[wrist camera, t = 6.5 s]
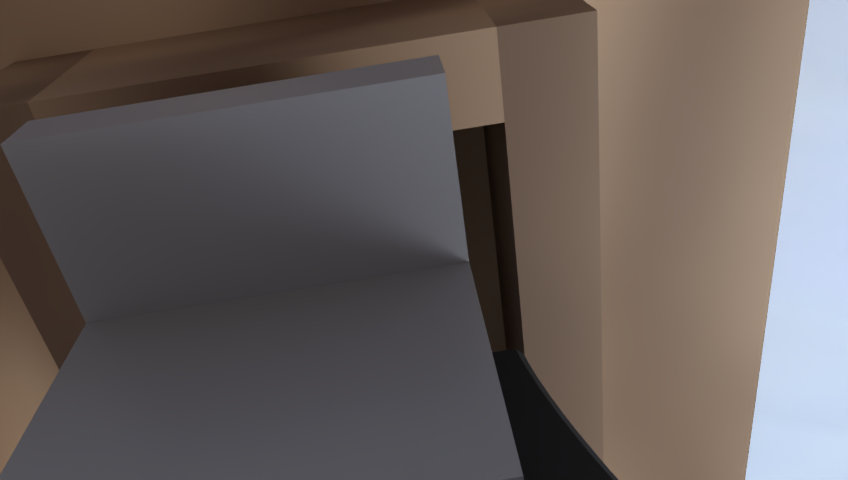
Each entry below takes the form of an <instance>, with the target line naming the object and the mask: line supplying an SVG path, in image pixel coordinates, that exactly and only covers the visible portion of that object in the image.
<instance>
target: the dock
mask: <svg viewBox="0 0 848 480" xmlns="http://www.w3.org/2000/svg"><path fill="white" fill-rule="evenodd" d="M808 7H809V0H0V144H1V143H3V142H4V141H5V140H6V139H7V138H9V137H10V136H11V135H12V134H13V133H14V132H16V131H17V130H18V129H19V128H20V127H21V126H23V125H24V124H25V123H26V122H27V121H30V120H37V119H43V118H49V117H55V116H61V115H68V114H74V113H80V112H86V111H92V110H99V109H105V108H111V107H117V106H124V105H130V104H136V103H142V102H148V101H155V100H161V99H167V98H173V97H179V96H186V95H192V94H198V93H204V92H210V91H217V90H223V89H229V88H235V87H242V86H248V85H254V84H260V83H266V82H273V81H279V80H285V79H291V78H297V77H304V76H310V75H316V74H322V73H328V72H335V71H341V70H347V69H353V68H359V67H366V66H372V65H378V64H384V63H391V62H397V61H403V60H409V59H415V58H422V57H428V56H434V55H439V57H440V60H441V62H442V65H443V68H444V71H445V75H446V83H447V91H448V99H449V107H450V115H451V123H452V131H453V138H454V146H455V154H456V162H457V170H458V178H459V186H460V194H461V202H462V210H463V218H464V225H465V233H466V241H467V249H468V257H469V263H470V267H471V271H472V275H473V279H474V283H475V287H476V291H477V295H478V299H479V303H480V307H481V311H482V315H483V319H484V323H485V327H486V331H487V335H488V338H489V342H490V346H491V350H492V352H497V351H504V350H510V349H517V350H518V351H520V352H521V353H523V354H524V355H525V357H526V359H527V361H528V363H529V364H530V366H531V368H532V369H533V371H534V372H535V374H536V376H537V377H538V379H539V380H540V382H541V383H542V385H543V386H544V387H545V389H546V390H547V392H548V393H549V395H550V396H551V397H552V399H553V400H554V401H555V403H556V404H557V406H558V407H559V408H560V410H561V411H562V412H563V414H564V415H565V416H566V418H567V419H568V420H569V421H570V423H571V424H572V425H573V426H574V428H575V429H576V430H577V432H578V433H579V434H580V435H581V436H582V438H583V439H584V440H585V441H586V442H587V444H588V445H589V446H590V447H591V448H592V450H593V451H594V452H595V453H596V454H597V455H598V457H599V458H600V459H601V460H602V461H603V463H604V464H605V465H606V466H607V467H608V469H609V470H610V471H611V472H612V473H613V474H614V475H615V476H616V477H617V479H618V480H745V475H746V468H747V460H748V453H749V445H750V438H751V430H752V423H753V416H754V408H755V401H756V393H757V386H758V378H759V371H760V364H761V356H762V349H763V341H764V334H765V326H766V319H767V311H768V304H769V297H770V289H771V282H772V274H773V267H774V259H775V252H776V245H777V237H778V230H779V222H780V215H781V207H782V200H783V193H784V185H785V178H786V170H787V163H788V155H789V148H790V141H791V133H792V126H793V118H794V111H795V103H796V96H797V89H798V81H799V74H800V66H801V59H802V51H803V44H804V37H805V29H806V22H807V14H808ZM85 324H86V322H85V320H84V318H83V316H82V314H81V312H80V310H79V308H78V306H77V303H76V301H75V299H74V297H73V295H72V293H71V291H70V289H69V287H68V285H67V283H66V281H65V278H64V276H63V274H62V272H61V270H60V268H59V266H58V264H57V262H56V260H55V258H54V255H53V253H52V251H51V249H50V247H49V245H48V243H47V241H46V239H45V237H44V235H43V233H42V230H41V228H40V226H39V224H38V222H37V220H36V218H35V216H34V214H33V212H32V210H31V208H30V205H29V203H28V201H27V199H26V197H25V195H24V193H23V191H22V189H21V187H20V185H19V182H18V180H17V178H16V176H15V174H14V172H13V170H12V168H11V166H10V164H9V162H8V160H7V157H6V155H5V153H4V151H3V149H2V147H1V145H0V474H1V472H2V471H3V469H4V467H5V465H6V464H7V462H8V460H9V458H10V457H11V455H12V453H13V451H14V449H15V448H16V446H17V444H18V442H19V441H20V439H21V437H22V435H23V434H24V432H25V430H26V428H27V427H28V425H29V423H30V421H31V419H32V418H33V416H34V414H35V412H36V411H37V409H38V407H39V405H40V404H41V402H42V400H43V398H44V397H45V395H46V393H47V391H48V389H49V388H50V386H51V384H52V382H53V381H54V379H55V377H56V375H57V374H58V372H59V370H60V368H61V367H62V365H63V363H64V361H65V359H66V358H67V356H68V354H69V352H70V351H71V349H72V347H73V345H74V344H75V342H76V340H77V338H78V337H79V335H80V333H81V331H82V330H83V328H84V326H85Z"/></svg>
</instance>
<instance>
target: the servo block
mask: <svg viewBox="0 0 848 480" xmlns="http://www.w3.org/2000/svg"><path fill="white" fill-rule="evenodd" d="M0 145H1V147H2V149H3V151H4V153H5V155H6V157H7V160H8V162H9V164H10V166H11V168H12V170H13V172H14V174H15V176H16V178H17V180H18V182H19V185H20V187H21V189H22V191H23V193H24V195H25V197H26V199H27V201H28V203H29V205H30V208H31V210H32V212H33V214H34V216H35V218H36V220H37V222H38V224H39V226H40V228H41V230H42V233H43V235H44V237H45V239H46V241H47V243H48V245H49V247H50V249H51V251H52V253H53V255H54V258H55V260H56V262H57V264H58V266H59V268H60V270H61V272H62V274H63V276H64V278H65V281H66V283H67V285H68V287H69V289H70V291H71V293H72V295H73V297H74V299H75V301H76V303H77V306H78V308H79V310H80V312H81V314H82V316H83V318H84V320H85V322H86V324H85V326H84V328H83V330H82V331H81V333H80V335H79V337H78V338H77V340H76V342H75V344H74V345H73V347H72V349H71V351H70V352H69V354H68V356H67V358H66V359H65V361H64V363H63V365H62V367H61V368H60V370H59V372H58V374H57V375H56V377H55V379H54V381H53V382H52V384H51V386H50V388H49V389H48V391H47V393H46V395H45V397H44V398H43V400H42V402H41V404H40V405H39V407H38V409H37V411H36V412H35V414H34V416H33V418H32V419H31V421H30V423H29V425H28V427H27V428H26V430H25V432H24V434H23V435H22V437H21V439H20V441H19V442H18V444H17V446H16V448H15V449H14V451H13V453H12V455H11V457H10V458H9V460H8V462H7V464H6V465H5V467H4V469H3V471H2V472H1V474H0V480H524V477H523V473H522V469H521V465H520V461H519V457H518V453H517V449H516V445H515V441H514V437H513V433H512V429H511V425H510V421H509V417H508V413H507V409H506V406H505V402H504V398H503V394H502V390H501V386H500V382H499V378H498V374H497V370H496V366H495V362H494V358H493V354H492V350H491V346H490V342H489V338H488V335H487V331H486V327H485V323H484V319H483V315H482V311H481V307H480V303H479V299H478V295H477V291H476V287H475V283H474V279H473V275H472V271H471V267H470V263H469V257H468V249H467V241H466V233H465V225H464V218H463V210H462V202H461V194H460V186H459V178H458V170H457V162H456V154H455V146H454V138H453V131H452V123H451V115H450V107H449V99H448V91H447V83H446V75H445V71H444V68H443V65H442V62H441V60H440V57H439V55H434V56H428V57H422V58H415V59H409V60H403V61H397V62H391V63H384V64H378V65H372V66H366V67H359V68H353V69H347V70H341V71H335V72H328V73H322V74H316V75H310V76H304V77H297V78H291V79H285V80H279V81H273V82H266V83H260V84H254V85H248V86H242V87H235V88H229V89H223V90H217V91H210V92H204V93H198V94H192V95H186V96H179V97H173V98H167V99H161V100H155V101H148V102H142V103H136V104H130V105H124V106H117V107H111V108H105V109H99V110H92V111H86V112H80V113H74V114H68V115H61V116H55V117H49V118H43V119H37V120H30V121H27V122H26V123H25V124H24V125H23V126H21V127H20V128H19V129H18V130H17V131H16V132H14V133H13V134H12V135H11V136H10V137H9V138H7V139H6V140H5V141H4V142H3V143H1V144H0Z"/></svg>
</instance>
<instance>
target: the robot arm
mask: <svg viewBox="0 0 848 480" xmlns="http://www.w3.org/2000/svg"><path fill="white" fill-rule="evenodd" d="M492 354H493V358H494V362H495V366H496V370H497V374H498V378H499V382H500V386H501V390H502V394H503V398H504V402H505V406H506V409H507V413H508V417H509V421H510V425H511V429H512V433H513V437H514V441H515V445H516V449H517V453H518V457H519V461H520V465H521V469H522V473H523V477H524V480H618V479H617V477H616V476H615V475H614V474H613V473H612V472H611V471H610V470H609V469H608V467H607V466H606V465H605V464H604V463H603V461H602V460H601V459H600V458H599V457H598V455H597V454H596V453H595V452H594V451H593V450H592V448H591V447H590V446H589V445H588V444H587V442H586V441H585V440H584V439H583V438H582V436H581V435H580V434H579V433H578V432H577V430H576V429H575V428H574V426H573V425H572V424H571V423H570V421H569V420H568V419H567V418H566V416H565V415H564V414H563V412H562V411H561V410H560V408H559V407H558V406H557V404H556V403H555V401H554V400H553V399H552V397H551V396H550V395H549V393H548V392H547V390H546V389H545V387H544V386H543V385H542V383H541V382H540V380H539V379H538V377H537V376H536V374H535V372H534V371H533V369H532V368H531V366H530V364H529V363H528V361H527V359H526V357H525V355H524V354H523V353H521V352H520V351H518V350H517V349H510V350H504V351H497V352H492Z"/></svg>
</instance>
